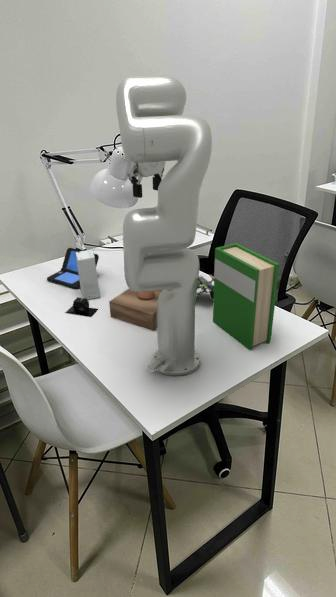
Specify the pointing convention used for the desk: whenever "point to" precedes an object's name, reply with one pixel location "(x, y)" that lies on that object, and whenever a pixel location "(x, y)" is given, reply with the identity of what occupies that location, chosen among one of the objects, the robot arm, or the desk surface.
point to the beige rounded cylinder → (146, 294)
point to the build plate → (81, 308)
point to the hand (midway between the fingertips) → (147, 193)
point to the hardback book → (244, 294)
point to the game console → (69, 270)
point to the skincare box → (87, 274)
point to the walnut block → (135, 309)
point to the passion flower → (205, 286)
